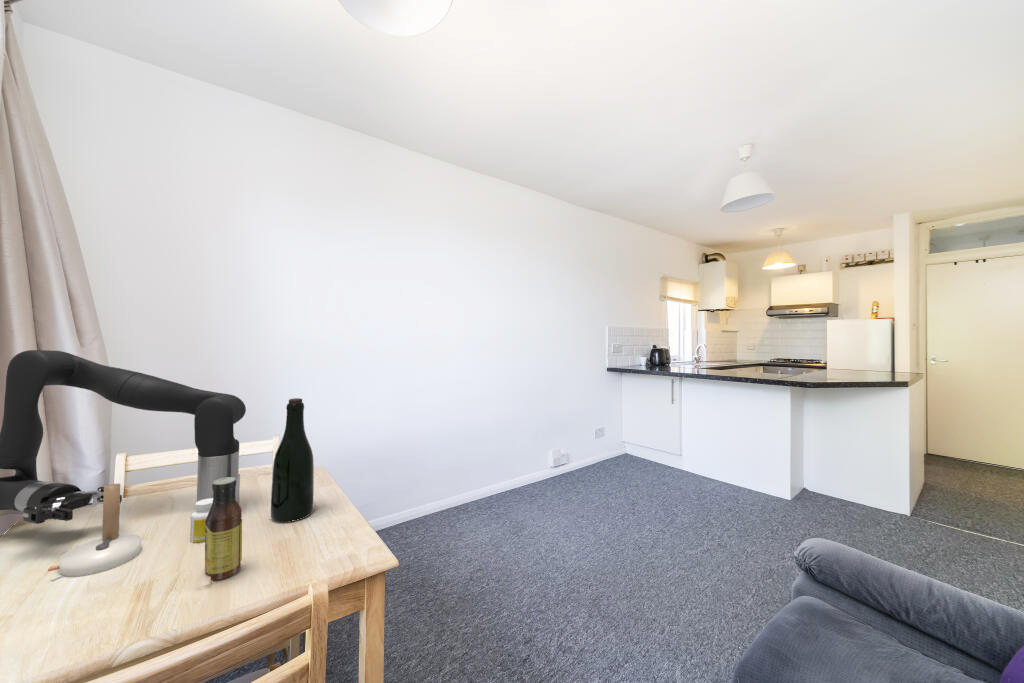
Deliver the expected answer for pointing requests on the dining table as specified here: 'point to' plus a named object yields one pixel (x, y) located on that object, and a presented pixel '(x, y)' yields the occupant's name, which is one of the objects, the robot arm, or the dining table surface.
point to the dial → (102, 543)
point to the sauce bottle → (223, 531)
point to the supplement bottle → (199, 520)
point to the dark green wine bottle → (293, 469)
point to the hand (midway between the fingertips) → (96, 507)
